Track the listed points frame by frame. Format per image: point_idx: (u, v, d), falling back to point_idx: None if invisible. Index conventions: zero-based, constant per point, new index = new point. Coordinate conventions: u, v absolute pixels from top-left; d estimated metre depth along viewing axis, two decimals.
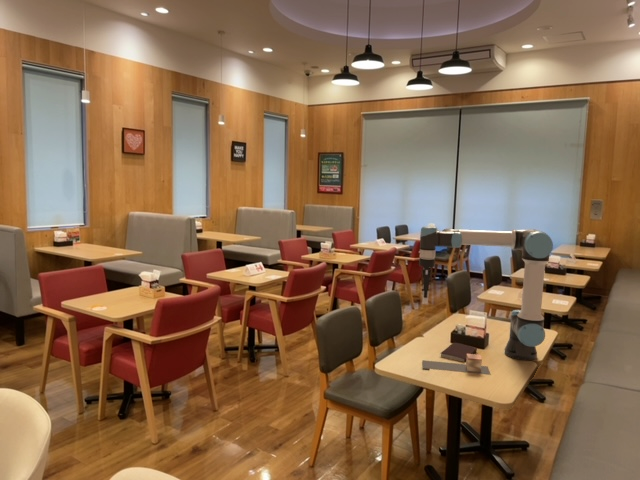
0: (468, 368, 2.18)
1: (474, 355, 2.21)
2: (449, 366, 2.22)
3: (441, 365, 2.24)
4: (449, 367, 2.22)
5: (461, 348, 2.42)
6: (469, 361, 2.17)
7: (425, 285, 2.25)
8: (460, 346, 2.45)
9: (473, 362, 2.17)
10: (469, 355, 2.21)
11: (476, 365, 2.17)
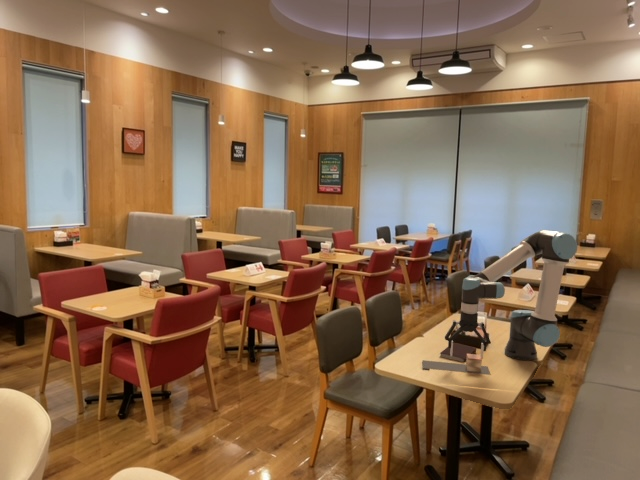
0: (468, 368, 2.18)
1: (474, 355, 2.21)
2: (449, 366, 2.22)
3: (441, 365, 2.24)
4: (449, 367, 2.22)
5: (461, 348, 2.42)
6: (469, 361, 2.17)
7: (446, 334, 2.21)
8: (460, 346, 2.45)
9: (473, 362, 2.17)
10: (469, 355, 2.21)
11: (476, 365, 2.17)
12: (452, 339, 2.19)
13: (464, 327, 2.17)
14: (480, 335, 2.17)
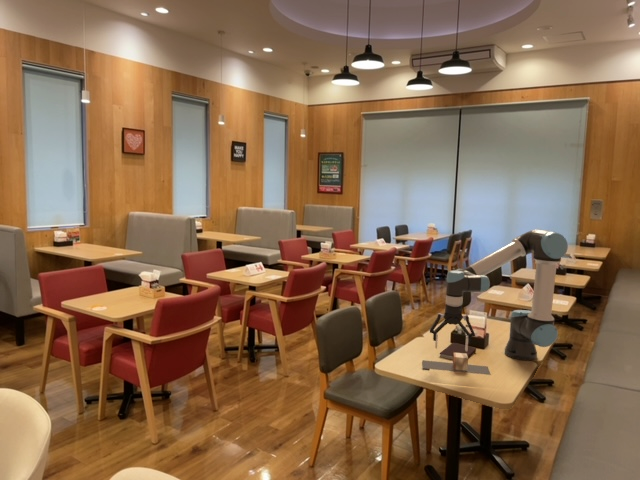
0: (464, 369, 2.18)
1: (453, 359, 2.23)
2: (449, 366, 2.22)
3: (441, 365, 2.24)
4: (449, 367, 2.22)
5: (460, 348, 2.42)
6: (457, 368, 2.19)
7: (431, 327, 2.22)
8: (460, 346, 2.44)
9: (458, 364, 2.19)
10: (453, 364, 2.23)
11: (461, 362, 2.18)
12: (437, 332, 2.21)
13: (448, 320, 2.18)
14: (464, 328, 2.18)
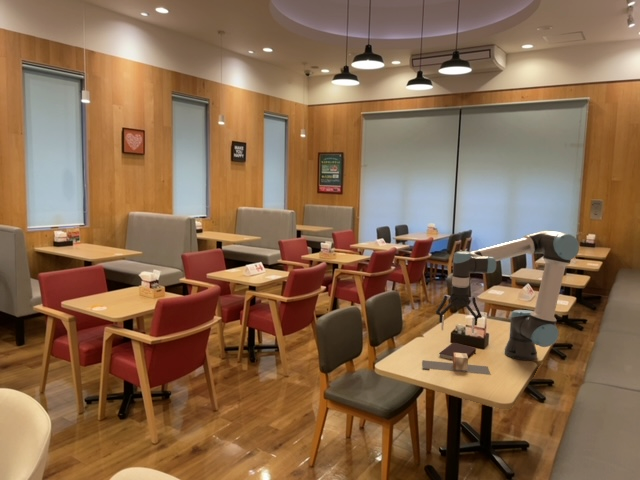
0: (464, 369, 2.18)
1: (453, 359, 2.23)
2: (449, 366, 2.22)
3: (441, 365, 2.24)
4: (449, 367, 2.22)
5: (460, 348, 2.42)
6: (457, 368, 2.19)
7: None
8: (459, 346, 2.44)
9: (458, 364, 2.19)
10: (453, 364, 2.23)
11: (461, 362, 2.18)
12: (443, 313, 2.19)
13: (455, 301, 2.17)
14: (471, 309, 2.16)
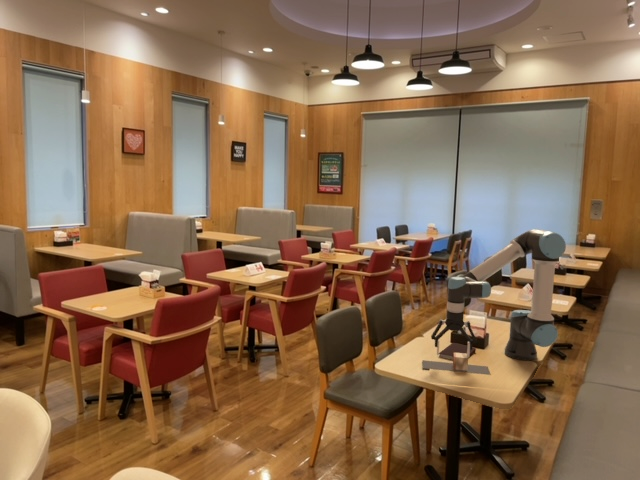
0: (464, 369, 2.18)
1: (453, 359, 2.23)
2: (449, 366, 2.22)
3: (441, 365, 2.24)
4: (449, 367, 2.22)
5: (460, 348, 2.42)
6: (457, 368, 2.19)
7: (433, 333, 2.22)
8: (459, 346, 2.44)
9: (458, 364, 2.19)
10: (453, 364, 2.23)
11: (461, 362, 2.18)
12: (438, 338, 2.21)
13: (450, 326, 2.18)
14: (466, 334, 2.18)
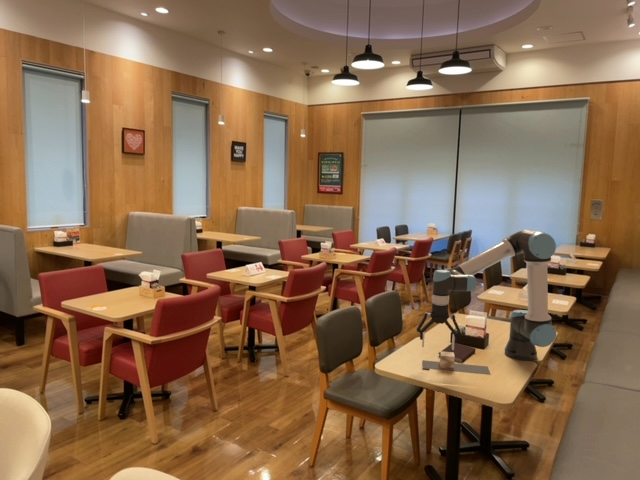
0: (453, 359, 2.19)
1: None
2: None
3: None
4: None
5: (460, 348, 2.41)
6: (452, 366, 2.19)
7: (418, 325, 2.24)
8: (459, 346, 2.44)
9: (448, 365, 2.20)
10: None
11: (445, 362, 2.20)
12: (423, 331, 2.22)
13: (435, 319, 2.20)
14: (451, 326, 2.19)
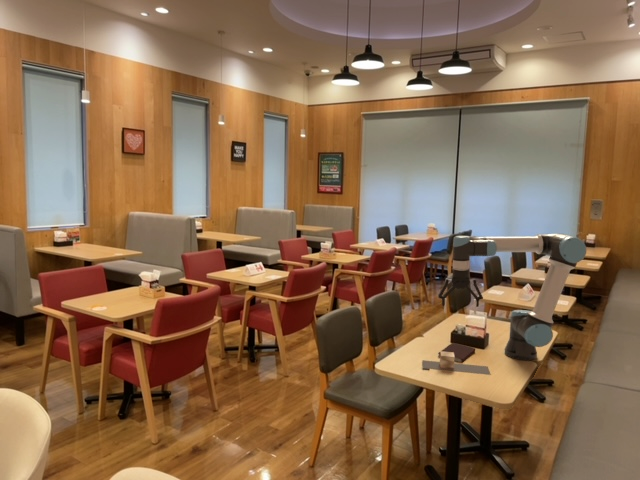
0: (453, 359, 2.19)
1: None
2: None
3: None
4: None
5: (459, 348, 2.41)
6: (452, 366, 2.19)
7: (440, 292, 2.27)
8: (459, 346, 2.44)
9: (448, 365, 2.20)
10: None
11: (445, 362, 2.20)
12: (445, 297, 2.25)
13: (456, 284, 2.23)
14: (472, 291, 2.22)
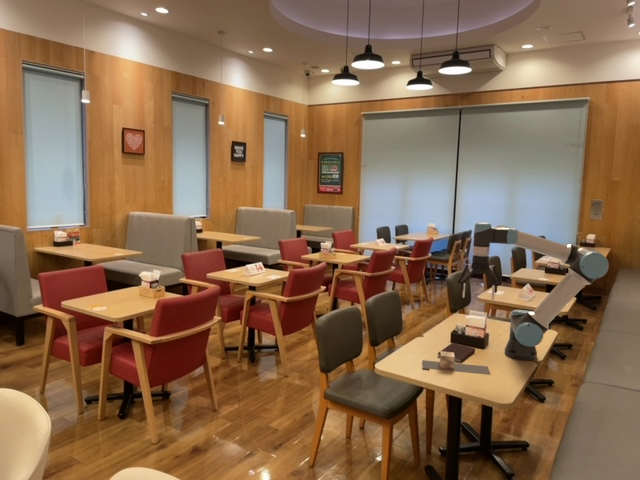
0: (453, 359, 2.19)
1: None
2: None
3: None
4: None
5: (459, 348, 2.41)
6: (452, 366, 2.19)
7: (459, 277, 2.32)
8: (458, 346, 2.44)
9: (448, 365, 2.20)
10: None
11: (445, 362, 2.20)
12: (464, 281, 2.30)
13: (476, 269, 2.28)
14: (491, 277, 2.27)
